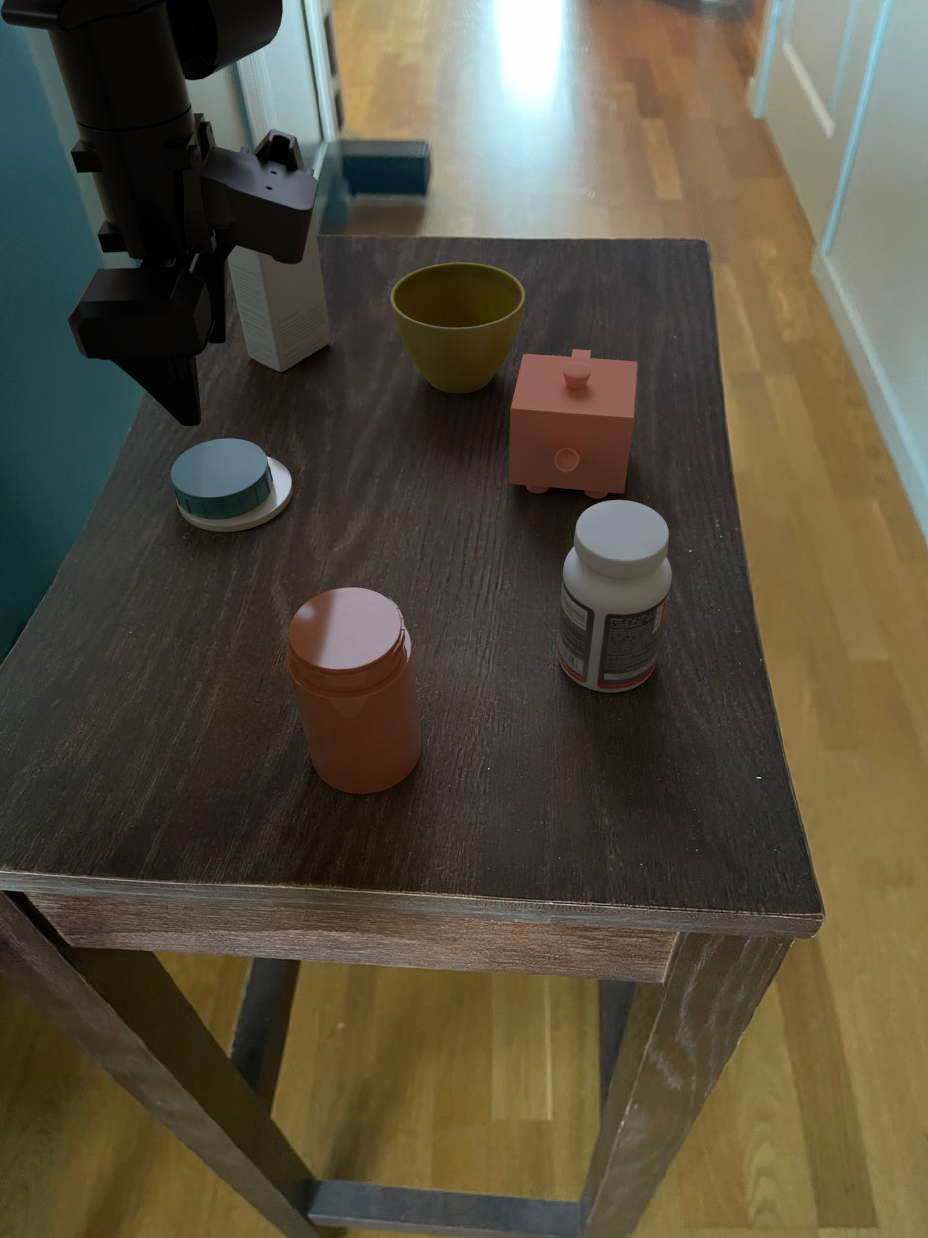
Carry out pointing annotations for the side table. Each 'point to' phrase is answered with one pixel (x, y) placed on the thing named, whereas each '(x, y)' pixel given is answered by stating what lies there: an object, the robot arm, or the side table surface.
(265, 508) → the saucer
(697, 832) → the side table surface
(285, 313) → the cosmetic box
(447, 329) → the flower pot
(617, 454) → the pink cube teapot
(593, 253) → the side table surface
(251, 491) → the lid
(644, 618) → the pill bottle
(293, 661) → the jar
